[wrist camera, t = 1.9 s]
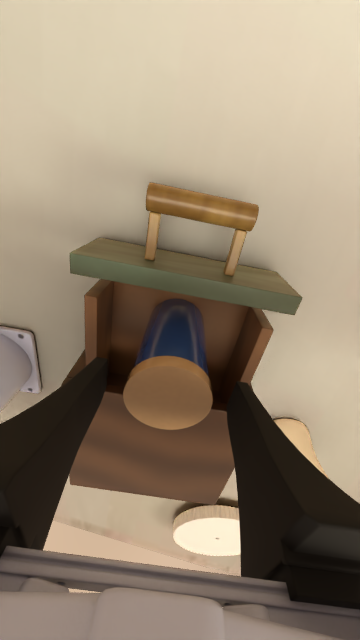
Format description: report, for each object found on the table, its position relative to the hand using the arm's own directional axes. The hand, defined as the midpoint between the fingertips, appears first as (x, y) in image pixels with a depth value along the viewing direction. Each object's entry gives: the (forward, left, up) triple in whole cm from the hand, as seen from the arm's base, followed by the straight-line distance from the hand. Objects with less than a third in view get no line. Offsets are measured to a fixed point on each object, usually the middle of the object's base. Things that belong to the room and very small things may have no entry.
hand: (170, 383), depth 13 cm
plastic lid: (+13, -37, -9) cm, 40 cm away
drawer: (0, +1, -8) cm, 8 cm away
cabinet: (0, -11, -9) cm, 14 cm away
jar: (0, 0, -7) cm, 7 cm away
